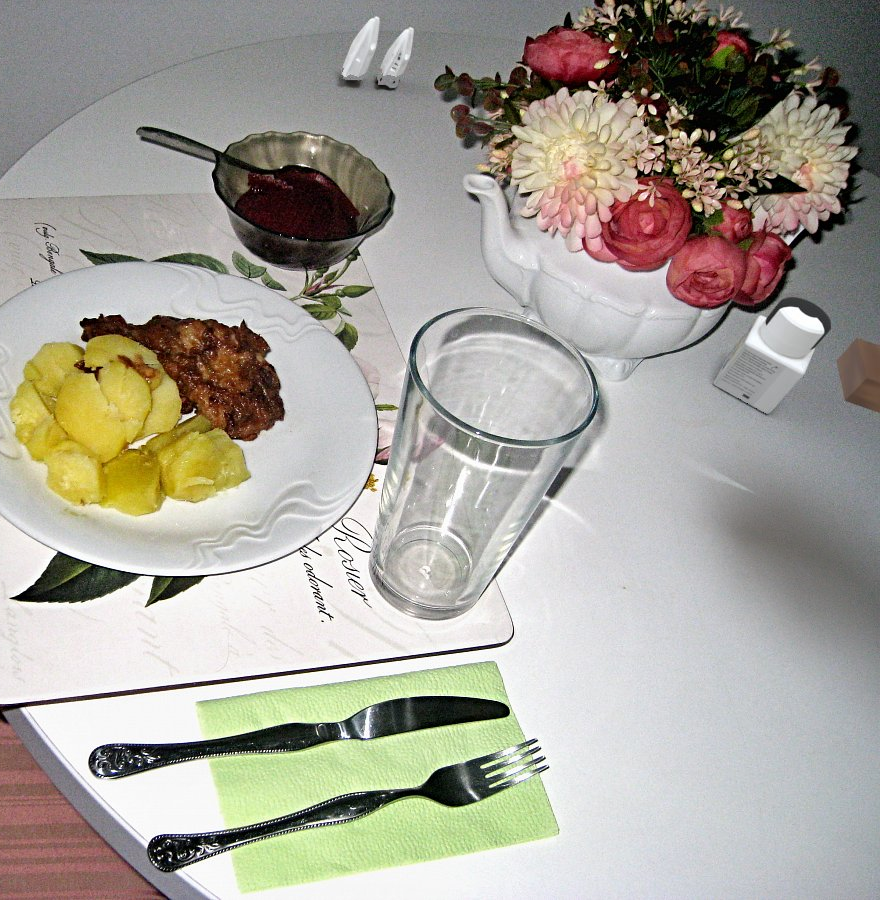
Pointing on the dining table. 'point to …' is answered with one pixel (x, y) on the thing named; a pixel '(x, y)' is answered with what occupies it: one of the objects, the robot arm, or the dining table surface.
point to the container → (774, 353)
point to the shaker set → (366, 47)
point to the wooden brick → (861, 374)
